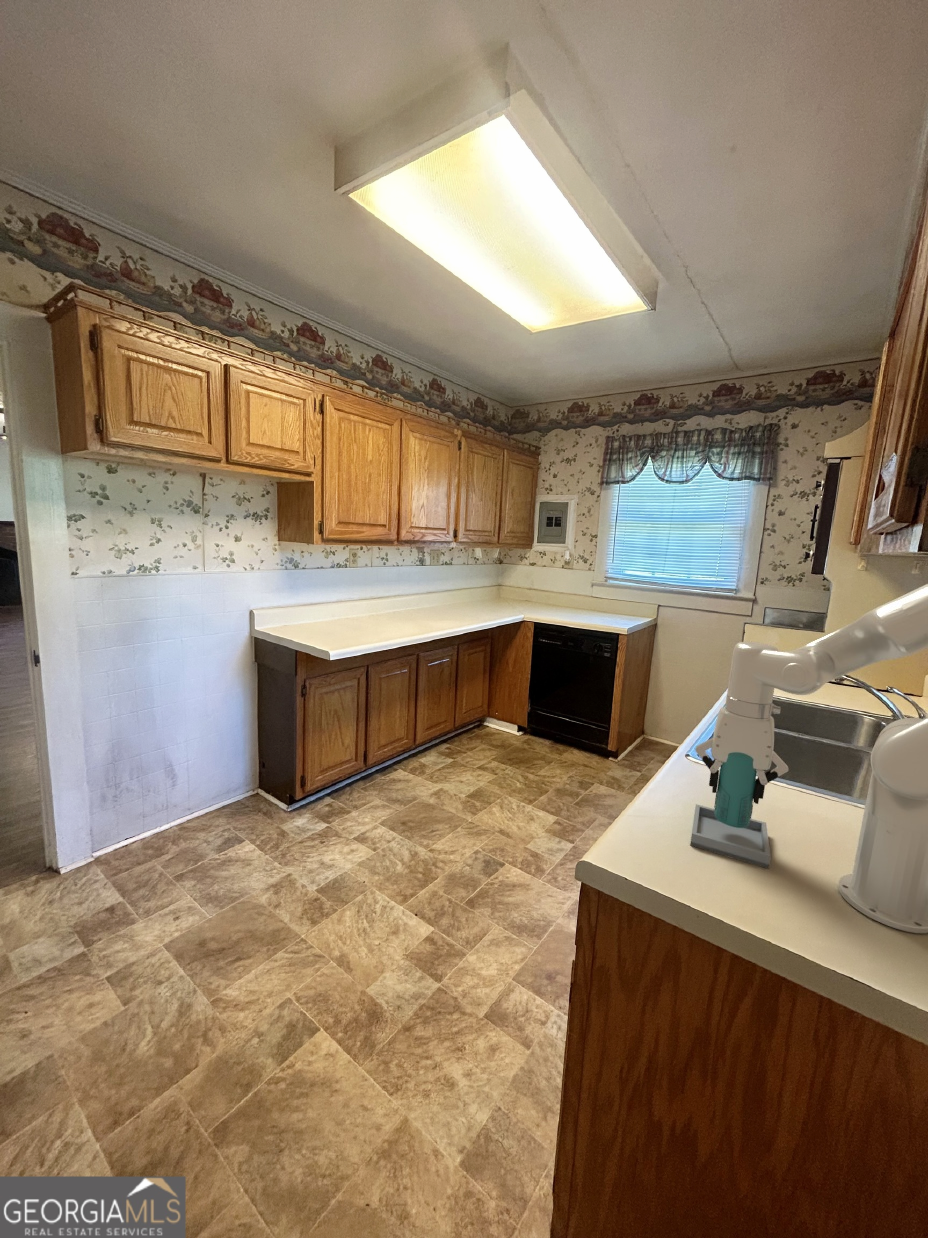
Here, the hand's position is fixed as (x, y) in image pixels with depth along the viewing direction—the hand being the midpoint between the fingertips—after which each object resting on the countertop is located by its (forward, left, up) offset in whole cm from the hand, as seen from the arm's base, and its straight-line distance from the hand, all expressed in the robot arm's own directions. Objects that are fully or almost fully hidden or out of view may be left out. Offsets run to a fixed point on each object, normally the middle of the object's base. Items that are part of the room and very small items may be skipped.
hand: (734, 794), depth 97 cm
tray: (0, 0, -9) cm, 9 cm away
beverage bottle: (0, 0, -7) cm, 7 cm away
